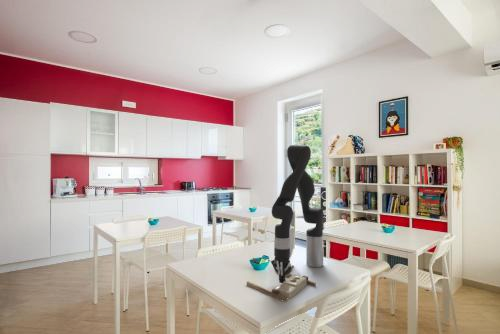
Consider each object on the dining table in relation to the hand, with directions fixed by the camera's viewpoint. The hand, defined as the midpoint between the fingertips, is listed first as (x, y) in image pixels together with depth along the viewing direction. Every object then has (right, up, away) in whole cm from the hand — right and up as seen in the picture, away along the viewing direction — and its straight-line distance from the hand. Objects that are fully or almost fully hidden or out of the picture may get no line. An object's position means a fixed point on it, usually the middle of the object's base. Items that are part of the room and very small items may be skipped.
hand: (282, 282), depth 135 cm
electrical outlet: (+4, -2, -4) cm, 6 cm away
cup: (+6, -2, +32) cm, 32 cm away
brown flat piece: (0, -2, +1) cm, 2 cm away
